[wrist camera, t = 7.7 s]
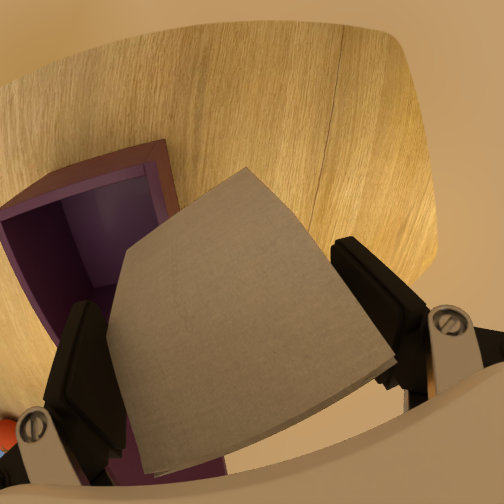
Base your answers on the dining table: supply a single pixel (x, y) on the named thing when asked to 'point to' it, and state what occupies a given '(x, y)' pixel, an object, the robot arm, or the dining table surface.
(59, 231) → the purple box
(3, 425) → the tomato
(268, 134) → the dining table surface
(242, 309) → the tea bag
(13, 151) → the dining table surface
